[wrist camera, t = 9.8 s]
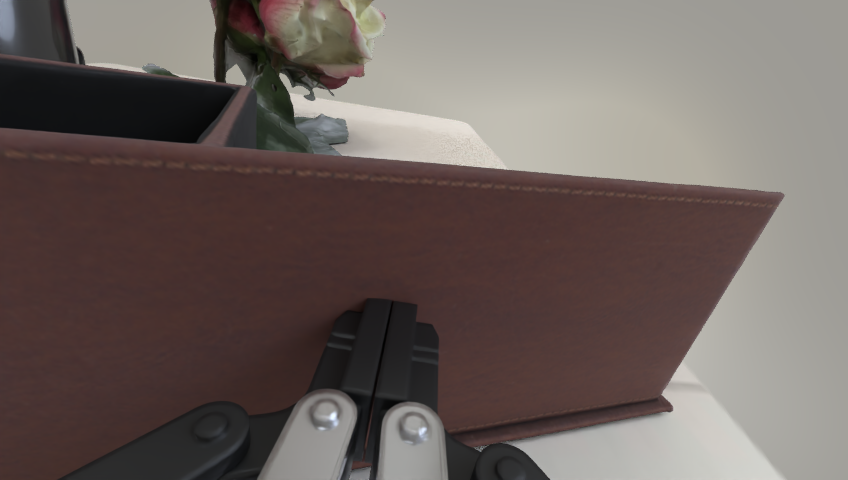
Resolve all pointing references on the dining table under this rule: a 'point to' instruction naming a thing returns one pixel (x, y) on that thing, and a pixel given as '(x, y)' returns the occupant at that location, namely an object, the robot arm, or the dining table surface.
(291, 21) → the rose bouquet
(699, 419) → the dining table surface
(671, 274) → the desk organizer
